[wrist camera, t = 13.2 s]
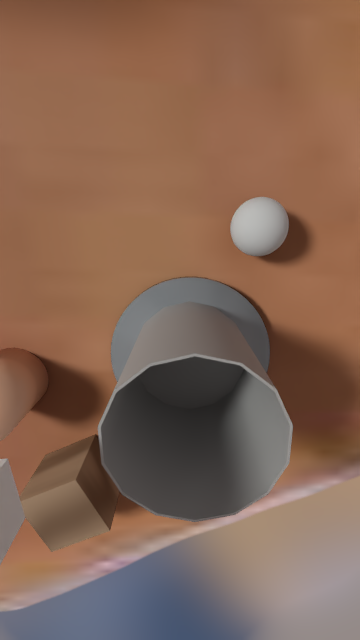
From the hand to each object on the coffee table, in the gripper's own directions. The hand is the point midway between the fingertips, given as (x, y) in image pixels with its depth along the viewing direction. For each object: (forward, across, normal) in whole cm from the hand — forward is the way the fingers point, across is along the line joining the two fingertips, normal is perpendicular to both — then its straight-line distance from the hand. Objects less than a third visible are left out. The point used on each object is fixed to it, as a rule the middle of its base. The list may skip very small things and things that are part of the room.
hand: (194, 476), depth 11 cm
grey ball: (+13, +5, +8) cm, 16 cm away
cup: (+12, 0, -1) cm, 12 cm away
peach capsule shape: (+13, -14, -2) cm, 19 cm away
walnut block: (+13, -10, -11) cm, 19 cm away
